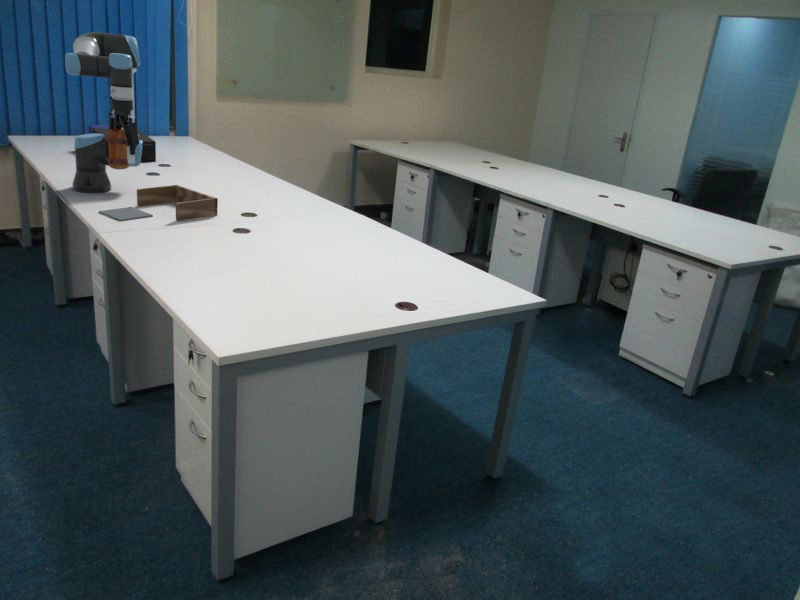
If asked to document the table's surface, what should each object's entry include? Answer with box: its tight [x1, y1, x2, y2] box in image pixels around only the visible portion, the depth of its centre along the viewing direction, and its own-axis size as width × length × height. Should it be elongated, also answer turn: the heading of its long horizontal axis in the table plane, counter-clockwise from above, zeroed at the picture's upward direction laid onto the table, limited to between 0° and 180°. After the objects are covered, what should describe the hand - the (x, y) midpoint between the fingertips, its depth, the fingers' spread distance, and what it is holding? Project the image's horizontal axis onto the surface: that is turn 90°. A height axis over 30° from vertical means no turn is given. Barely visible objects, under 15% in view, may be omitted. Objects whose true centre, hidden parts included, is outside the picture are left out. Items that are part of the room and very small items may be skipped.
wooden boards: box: [136, 184, 219, 222], centre depth 263 cm, size 26×19×7 cm
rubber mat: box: [98, 206, 153, 222], centre depth 251 cm, size 14×14×1 cm
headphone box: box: [88, 124, 157, 163], centre depth 351 cm, size 25×35×14 cm
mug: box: [105, 129, 136, 170], centre depth 242 cm, size 15×8×15 cm, turn 167°
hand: (124, 160), depth 243 cm, fingers closed on mug, 8 cm apart
